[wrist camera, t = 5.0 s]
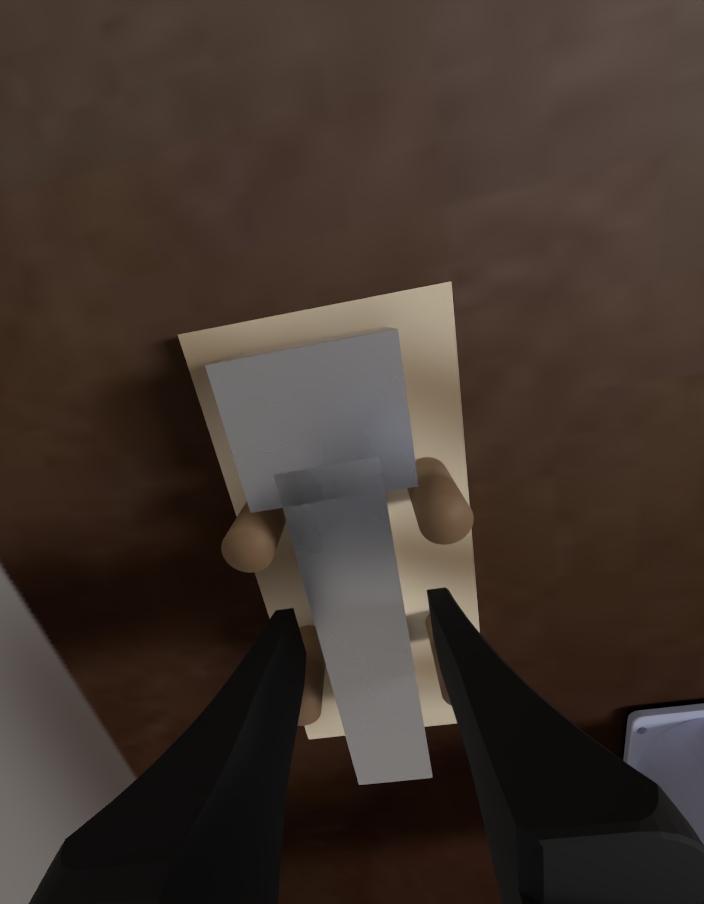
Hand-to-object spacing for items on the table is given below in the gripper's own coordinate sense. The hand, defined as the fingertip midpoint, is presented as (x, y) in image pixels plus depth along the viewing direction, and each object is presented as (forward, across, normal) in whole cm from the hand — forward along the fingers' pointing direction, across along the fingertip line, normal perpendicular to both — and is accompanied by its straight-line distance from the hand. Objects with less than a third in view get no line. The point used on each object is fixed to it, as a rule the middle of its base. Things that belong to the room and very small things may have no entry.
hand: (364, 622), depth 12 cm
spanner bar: (+3, 0, -1) cm, 3 cm away
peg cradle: (+4, 0, 0) cm, 4 cm away
